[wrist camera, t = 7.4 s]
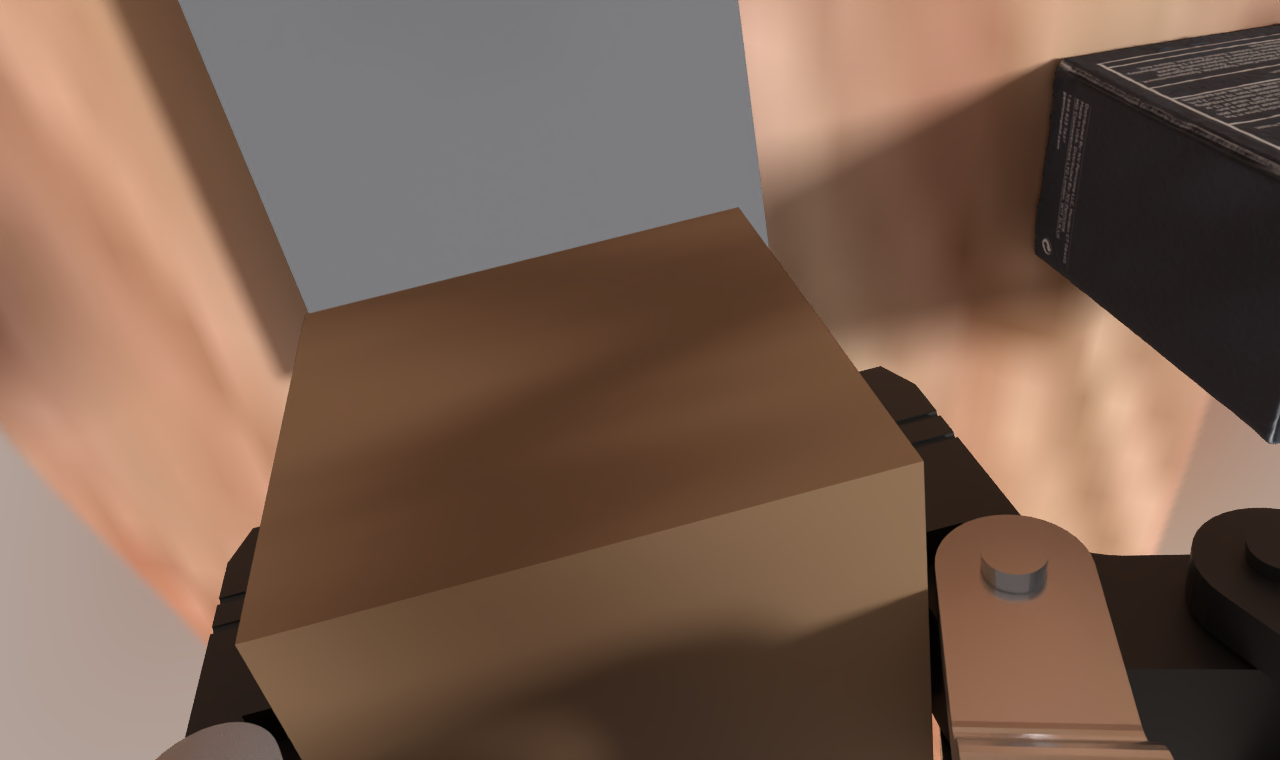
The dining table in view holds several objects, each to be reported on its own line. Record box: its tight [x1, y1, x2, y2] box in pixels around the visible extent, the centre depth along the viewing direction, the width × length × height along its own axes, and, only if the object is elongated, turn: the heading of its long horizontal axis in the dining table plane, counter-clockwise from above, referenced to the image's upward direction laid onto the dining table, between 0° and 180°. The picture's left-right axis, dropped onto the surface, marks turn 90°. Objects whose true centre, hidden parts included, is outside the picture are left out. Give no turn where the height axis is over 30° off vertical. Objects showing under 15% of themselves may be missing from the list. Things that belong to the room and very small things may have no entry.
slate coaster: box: [178, 0, 769, 313], centre depth 25 cm, size 12×12×2 cm
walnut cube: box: [235, 207, 933, 760], centre depth 11 cm, size 5×5×5 cm
